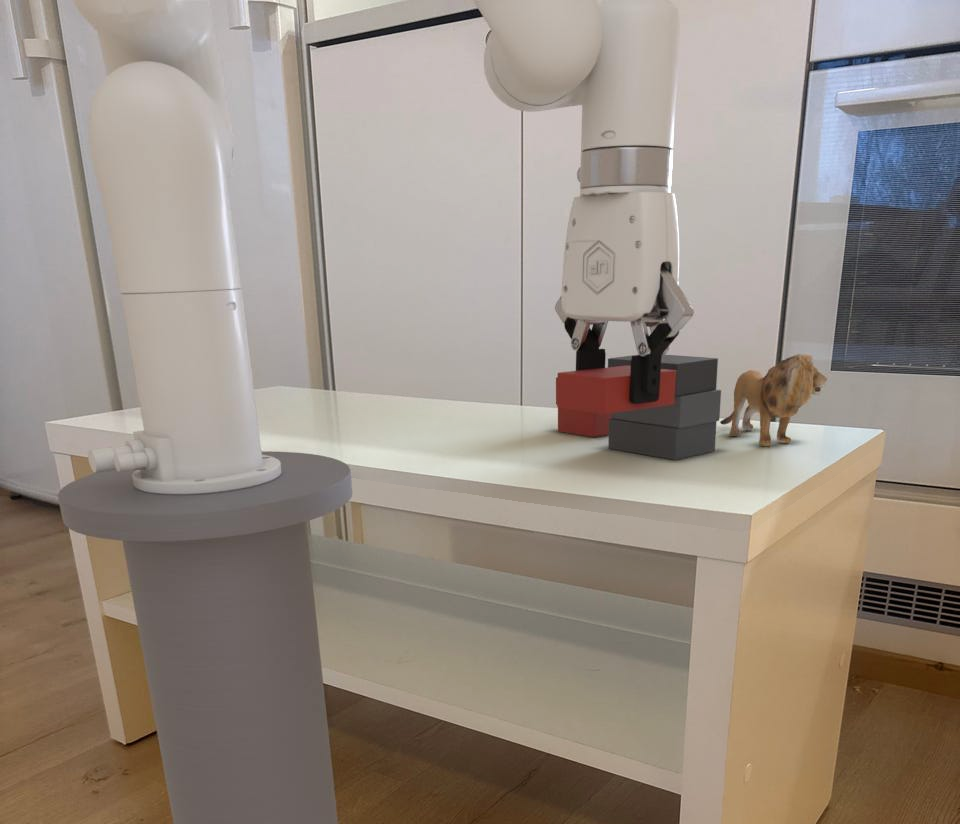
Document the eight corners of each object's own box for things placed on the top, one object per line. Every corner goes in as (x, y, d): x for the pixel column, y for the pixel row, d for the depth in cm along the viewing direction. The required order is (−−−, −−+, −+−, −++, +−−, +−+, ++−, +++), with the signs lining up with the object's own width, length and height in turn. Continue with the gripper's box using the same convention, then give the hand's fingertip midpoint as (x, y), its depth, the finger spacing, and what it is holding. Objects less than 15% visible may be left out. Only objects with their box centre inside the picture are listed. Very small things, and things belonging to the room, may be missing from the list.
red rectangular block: (674, 404, 86) (676, 370, 85) (604, 414, 81) (605, 378, 80) (626, 397, 90) (627, 365, 89) (556, 406, 85) (557, 372, 84)
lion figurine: (827, 447, 95) (837, 354, 91) (783, 452, 93) (791, 357, 89) (739, 426, 107) (745, 343, 104) (699, 430, 106) (703, 346, 102)
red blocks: (650, 426, 109) (652, 373, 107) (593, 437, 104) (594, 381, 102) (611, 421, 114) (612, 369, 111) (555, 431, 108) (555, 377, 106)
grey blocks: (675, 460, 91) (679, 364, 88) (606, 448, 98) (607, 358, 94) (717, 451, 95) (723, 358, 91) (648, 440, 101) (651, 352, 98)
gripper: (523, 182, 83) (522, 393, 89) (675, 166, 70) (660, 413, 77) (585, 185, 87) (579, 386, 94) (739, 171, 74) (719, 404, 81)
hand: (616, 396), depth 85 cm, fingers closed on red rectangular block, 6 cm apart
